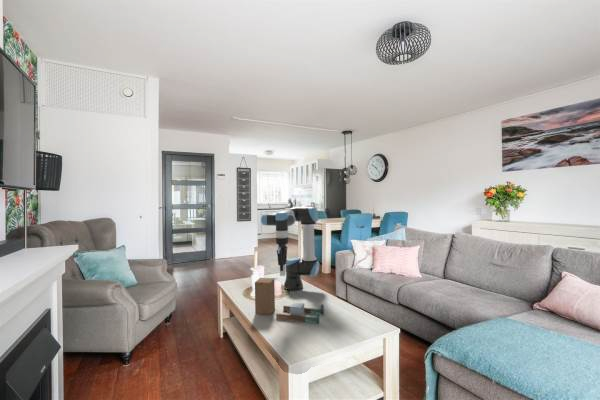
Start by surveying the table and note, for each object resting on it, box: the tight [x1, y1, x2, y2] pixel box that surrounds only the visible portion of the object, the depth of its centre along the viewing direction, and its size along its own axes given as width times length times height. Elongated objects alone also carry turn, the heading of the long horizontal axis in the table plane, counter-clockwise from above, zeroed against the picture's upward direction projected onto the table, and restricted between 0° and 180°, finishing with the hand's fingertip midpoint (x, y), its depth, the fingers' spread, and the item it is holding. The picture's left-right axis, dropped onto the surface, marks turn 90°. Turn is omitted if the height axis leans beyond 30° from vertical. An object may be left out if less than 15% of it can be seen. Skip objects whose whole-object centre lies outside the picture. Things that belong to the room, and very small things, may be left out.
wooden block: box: [254, 277, 276, 316], centre depth 180 cm, size 10×10×20 cm
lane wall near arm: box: [282, 303, 325, 316], centre depth 178 cm, size 1×26×6 cm, turn 73°
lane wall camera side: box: [275, 312, 320, 325], centre depth 166 cm, size 1×26×6 cm, turn 73°
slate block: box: [289, 301, 305, 316], centre depth 172 cm, size 7×7×7 cm
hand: (282, 275), depth 174 cm, fingers closed
